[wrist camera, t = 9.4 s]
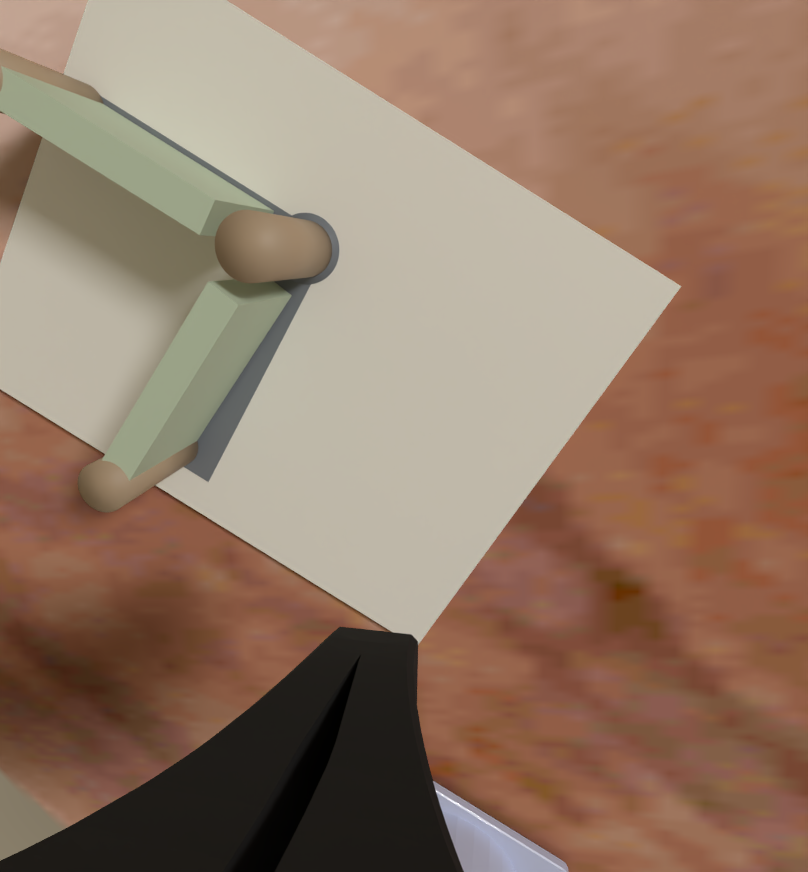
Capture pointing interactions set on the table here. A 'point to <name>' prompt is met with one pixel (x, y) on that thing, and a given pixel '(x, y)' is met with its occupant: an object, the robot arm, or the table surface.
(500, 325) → the card
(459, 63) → the table surface
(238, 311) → the fence panel
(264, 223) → the fence fixed
